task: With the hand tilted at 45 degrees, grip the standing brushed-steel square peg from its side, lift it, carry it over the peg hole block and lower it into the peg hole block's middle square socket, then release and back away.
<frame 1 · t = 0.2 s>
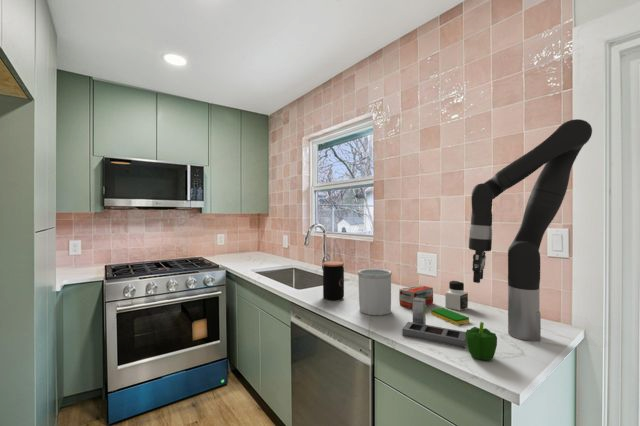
hand: (478, 280, 113), 18 cm above the worktop, tool pointing down, fingers open, 8 cm apart
steel peg: (419, 325, 117), on the worktop
coffee jar: (333, 298, 154), on the worktop
bell pepper: (481, 357, 91), on the worktop
medicine bottle: (456, 308, 137), on the worktop
utensil holder: (374, 310, 134), on the worktop
dish sponge: (449, 319, 124), on the worktop
peg hole block: (434, 337, 105), on the worktop
medicine box: (416, 305, 143), on the worktop
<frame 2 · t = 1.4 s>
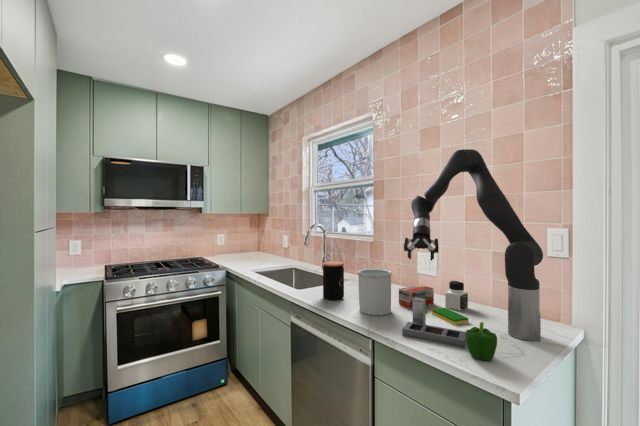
hand: (420, 258, 127), 24 cm above the worktop, tool tilted 45°, fingers open, 8 cm apart
nothing on the worktop moved.
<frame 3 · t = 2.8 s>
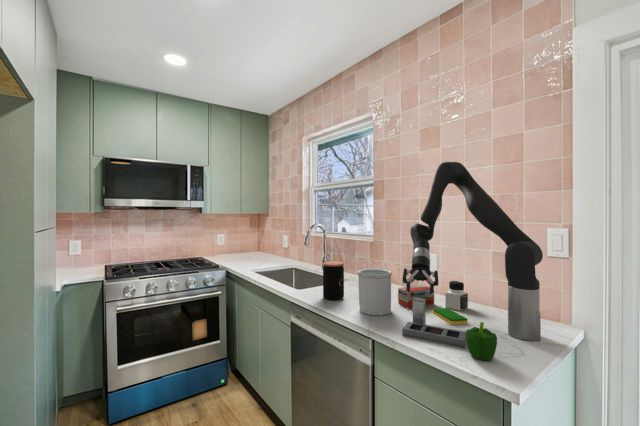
hand: (419, 292, 123), 11 cm above the worktop, tool tilted 45°, fingers open, 8 cm apart
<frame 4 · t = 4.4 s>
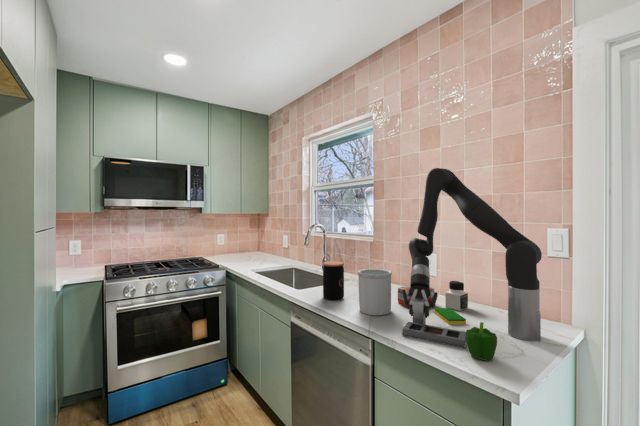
hand: (418, 316, 115), 4 cm above the worktop, tool tilted 45°, fingers closed on steel peg, 4 cm apart
steel peg: (419, 325, 117), on the worktop, touching gripper
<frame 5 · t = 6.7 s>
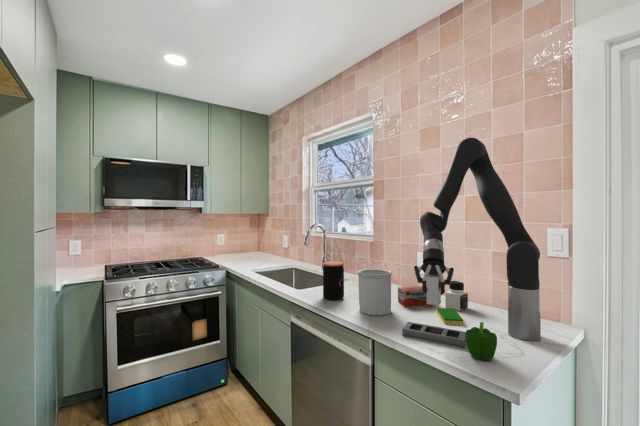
hand: (433, 292, 104), 16 cm above the worktop, tool tilted 45°, fingers closed on steel peg, 4 cm apart
steel peg: (433, 303, 106), point 12 cm above the worktop, touching gripper
when the fingers open (7 cm above the worktop, at t = 9.0 s): steel peg drops 2 cm, resting on peg hole block.
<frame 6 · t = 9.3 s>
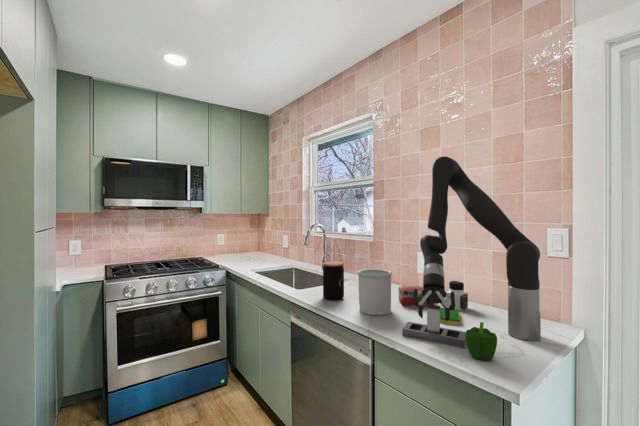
hand: (433, 318, 104), 7 cm above the worktop, tool tilted 45°, fingers open, 7 cm apart
steel peg: (433, 335, 105), point 1 cm above the worktop, touching peg hole block
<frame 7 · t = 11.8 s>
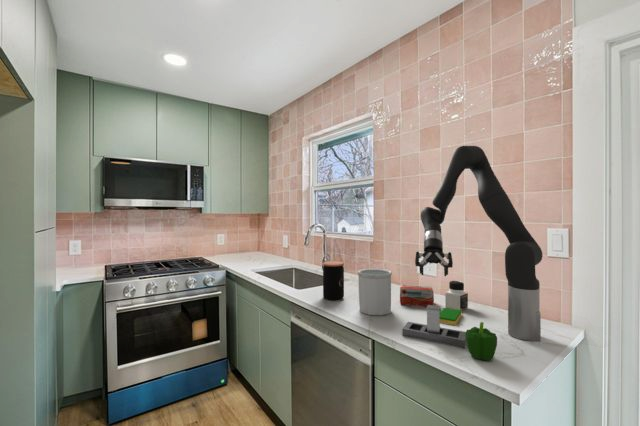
hand: (433, 274, 119), 19 cm above the worktop, tool tilted 45°, fingers open, 8 cm apart
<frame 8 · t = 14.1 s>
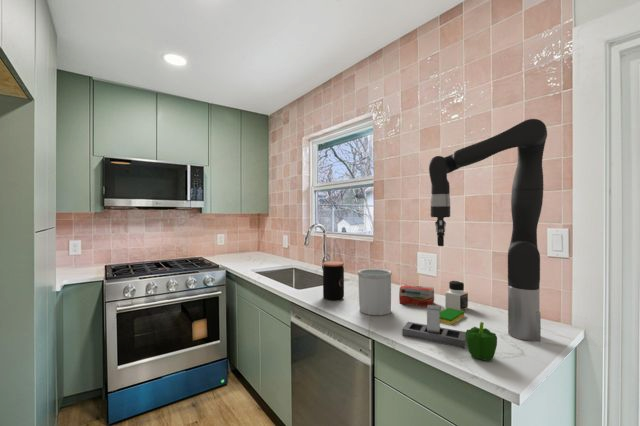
hand: (440, 245, 124), 30 cm above the worktop, tool pointing down, fingers open, 8 cm apart
at the end: steel peg 0.2 cm off-centre on the peg hole block, point 0.5 cm above the peg hole block's base; steel peg tilted 0°; the gripper is holding nothing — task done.
